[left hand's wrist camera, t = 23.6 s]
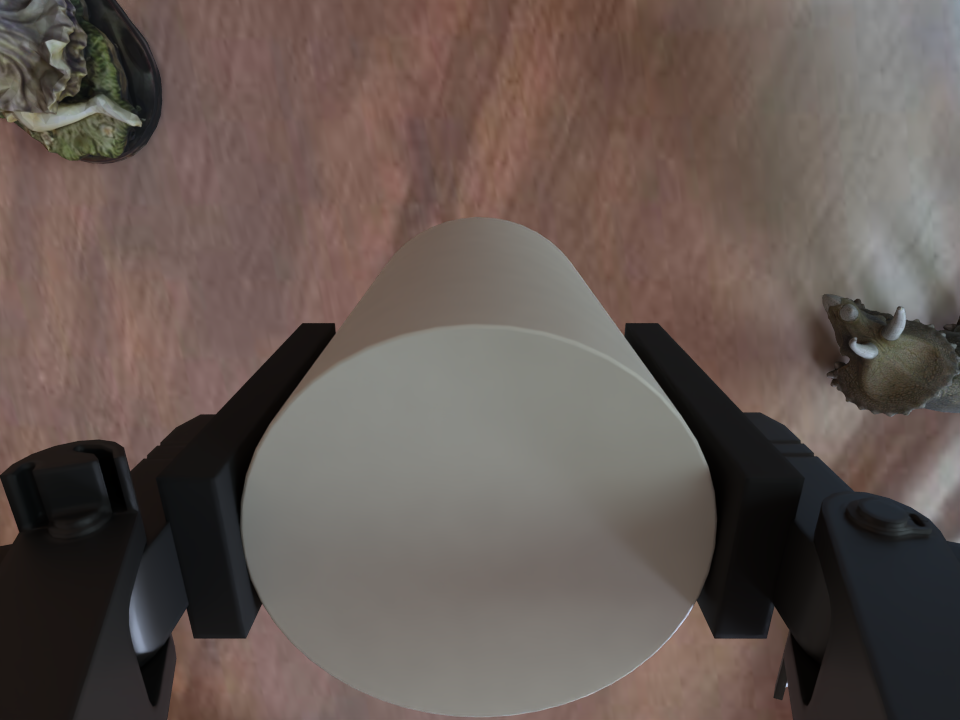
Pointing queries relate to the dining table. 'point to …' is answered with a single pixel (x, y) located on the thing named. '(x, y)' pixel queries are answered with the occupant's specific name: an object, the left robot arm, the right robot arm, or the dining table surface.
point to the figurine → (78, 78)
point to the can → (478, 487)
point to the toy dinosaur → (894, 360)
